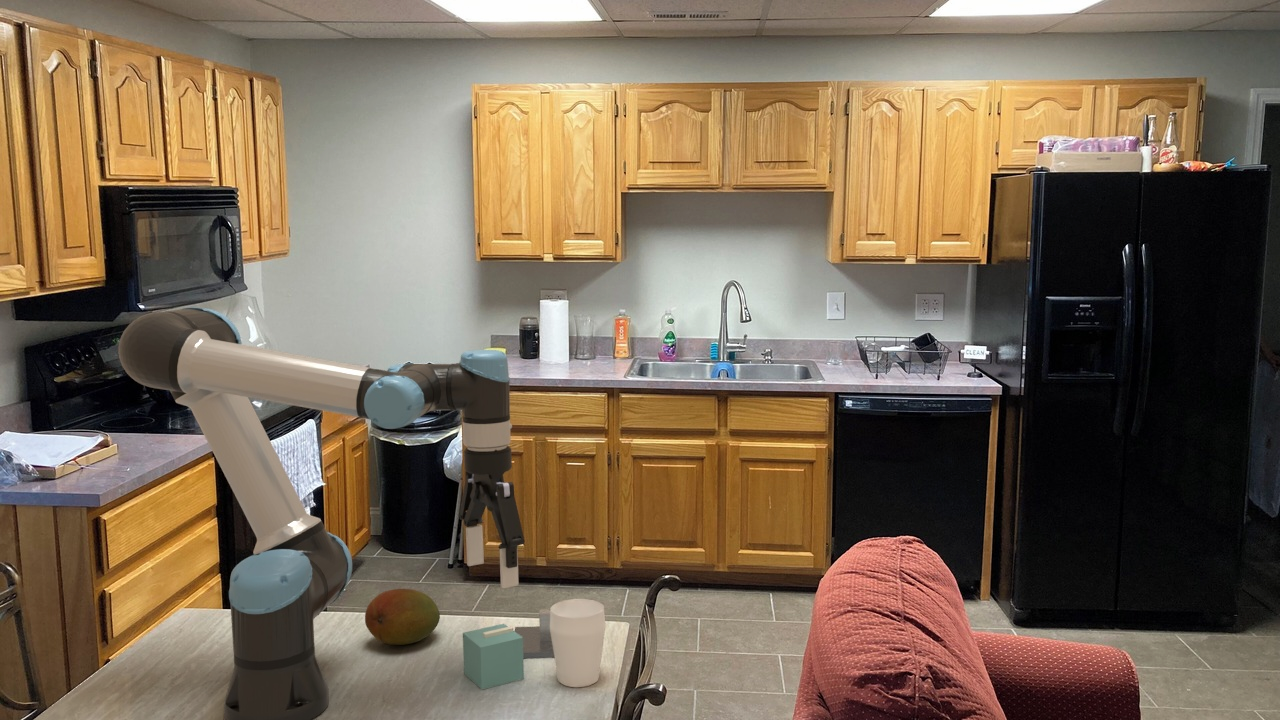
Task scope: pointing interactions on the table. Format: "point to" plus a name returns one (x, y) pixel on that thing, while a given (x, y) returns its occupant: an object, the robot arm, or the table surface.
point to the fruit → (401, 616)
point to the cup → (577, 640)
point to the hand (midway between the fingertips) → (492, 575)
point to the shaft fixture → (537, 638)
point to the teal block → (493, 656)
